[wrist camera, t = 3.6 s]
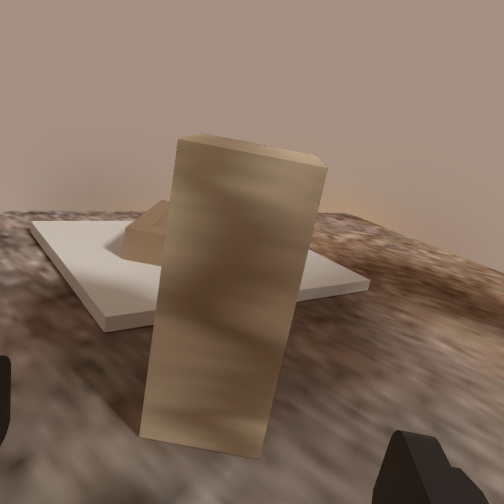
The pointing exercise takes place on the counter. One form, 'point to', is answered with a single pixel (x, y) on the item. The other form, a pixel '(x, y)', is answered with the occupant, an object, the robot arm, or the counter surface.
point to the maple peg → (227, 290)
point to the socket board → (146, 266)
